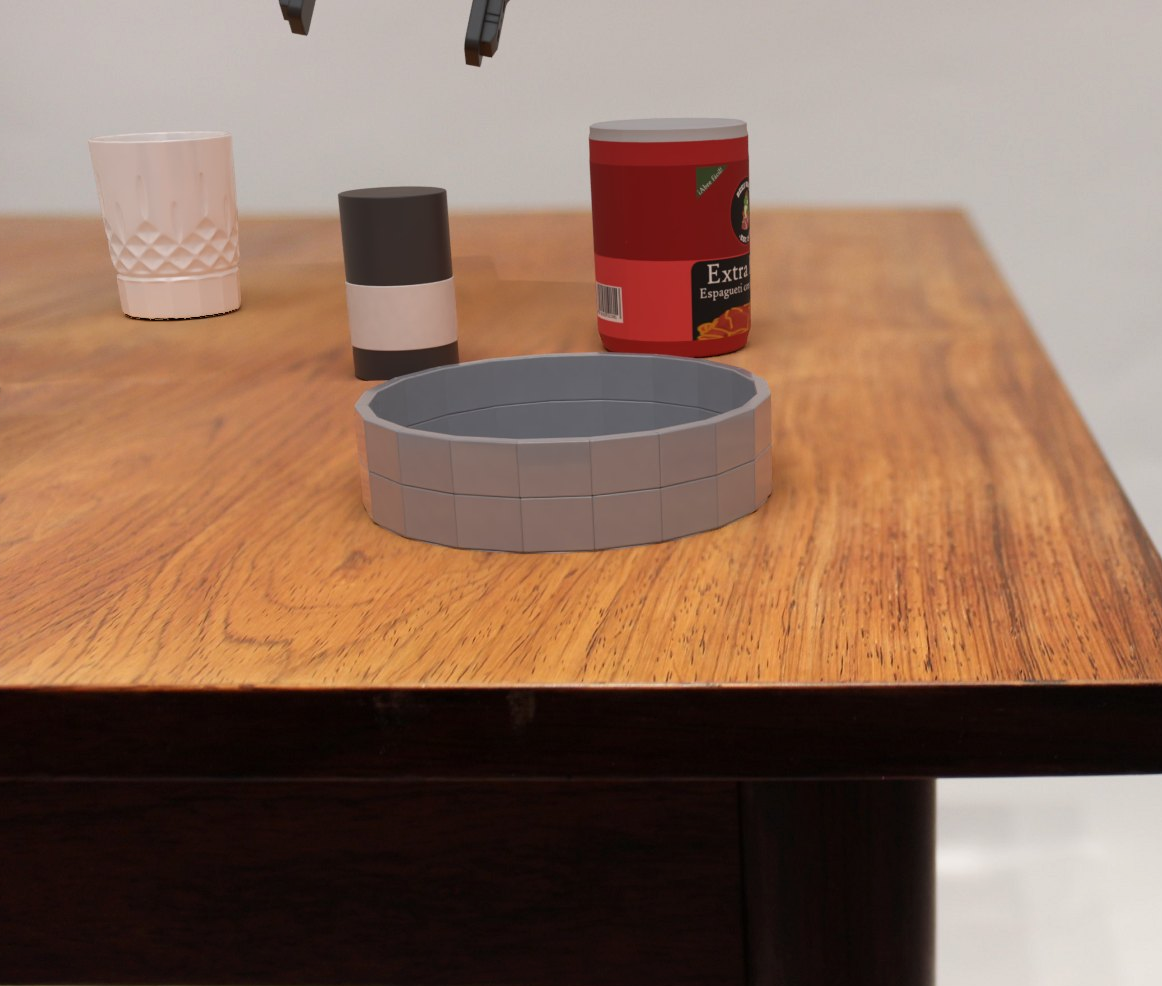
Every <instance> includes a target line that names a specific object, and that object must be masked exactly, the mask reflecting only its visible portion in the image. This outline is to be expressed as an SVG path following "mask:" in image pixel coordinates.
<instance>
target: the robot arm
mask: <svg viewBox="0 0 1162 986" xmlns="http://www.w3.org/2000/svg"><path fill="white" fill-rule="evenodd" d="M510 1H511V0H472V2H471V7H470V12H469V17H468V22H467V27H466V30H465V31H466V32H465V36H464V44H463V50H464V51H463V52H464V60H465V65H466V66H470V67H477V68H481V67H482V64H483V63H482V62H483V58H484V57H486V58H491V59H492V58H493V57H494V56H495V54H496V52H497V51H498V50H499V45H500V40H501V39H500V38H501V35H502V29H503V24H504V19H505V14H506V10H507V5H508V3H509V2H510ZM316 2H317V0H278V4H279V8H280V12H281V15H282V18H283V21H287V22H288V25H289V28H290V32H291V34H296V35H299V36H304V37H307V36H308V35H309V33H310V28H311V24H312V23H311V22H312V21H313V20H312V19H313V14H314V9H315V6H316Z"/></svg>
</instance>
